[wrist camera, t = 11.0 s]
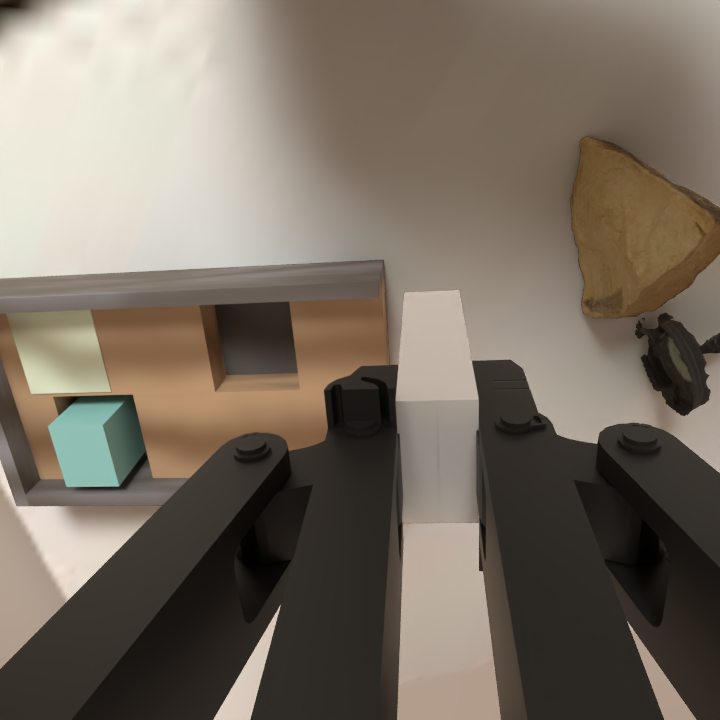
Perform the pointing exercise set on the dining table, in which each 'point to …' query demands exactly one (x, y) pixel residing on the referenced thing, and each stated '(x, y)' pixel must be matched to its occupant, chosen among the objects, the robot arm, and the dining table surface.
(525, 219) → the dining table surface
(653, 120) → the dining table surface
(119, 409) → the block
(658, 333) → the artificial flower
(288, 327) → the trap board
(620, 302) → the rock
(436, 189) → the dining table surface
